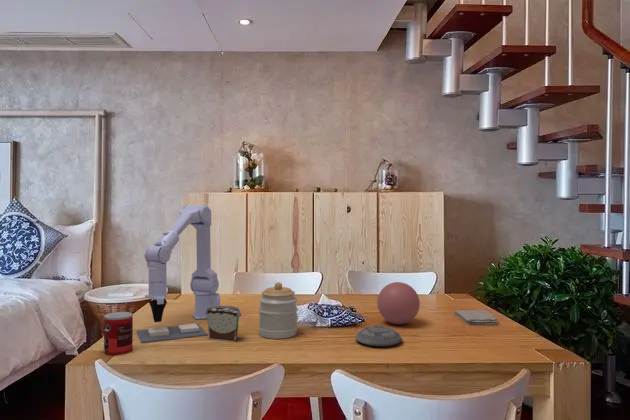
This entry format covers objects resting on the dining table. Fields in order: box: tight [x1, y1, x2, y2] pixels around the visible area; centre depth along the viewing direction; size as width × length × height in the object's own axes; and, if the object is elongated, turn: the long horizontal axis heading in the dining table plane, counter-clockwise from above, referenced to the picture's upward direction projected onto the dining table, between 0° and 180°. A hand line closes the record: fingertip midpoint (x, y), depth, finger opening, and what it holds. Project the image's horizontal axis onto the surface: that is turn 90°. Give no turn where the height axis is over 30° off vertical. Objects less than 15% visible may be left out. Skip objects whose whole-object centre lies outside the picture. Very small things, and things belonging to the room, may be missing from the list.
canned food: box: [103, 311, 134, 356], centre depth 141 cm, size 8×8×11 cm
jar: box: [258, 281, 298, 340], centre depth 160 cm, size 13×13×18 cm
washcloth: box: [454, 309, 498, 327], centre depth 181 cm, size 12×18×3 cm, turn 1°
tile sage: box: [147, 326, 169, 338], centre depth 158 cm, size 6×2×6 cm
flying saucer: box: [354, 324, 403, 347], centre depth 152 cm, size 15×15×6 cm
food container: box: [206, 305, 242, 343], centre depth 155 cm, size 12×6×10 cm, turn 71°
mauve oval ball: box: [377, 281, 421, 325], centre depth 177 cm, size 15×20×15 cm
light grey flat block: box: [177, 323, 199, 334], centre depth 162 cm, size 6×2×6 cm
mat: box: [136, 323, 209, 344], centre depth 160 cm, size 21×15×1 cm
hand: (157, 321), depth 159 cm, fingers closed
